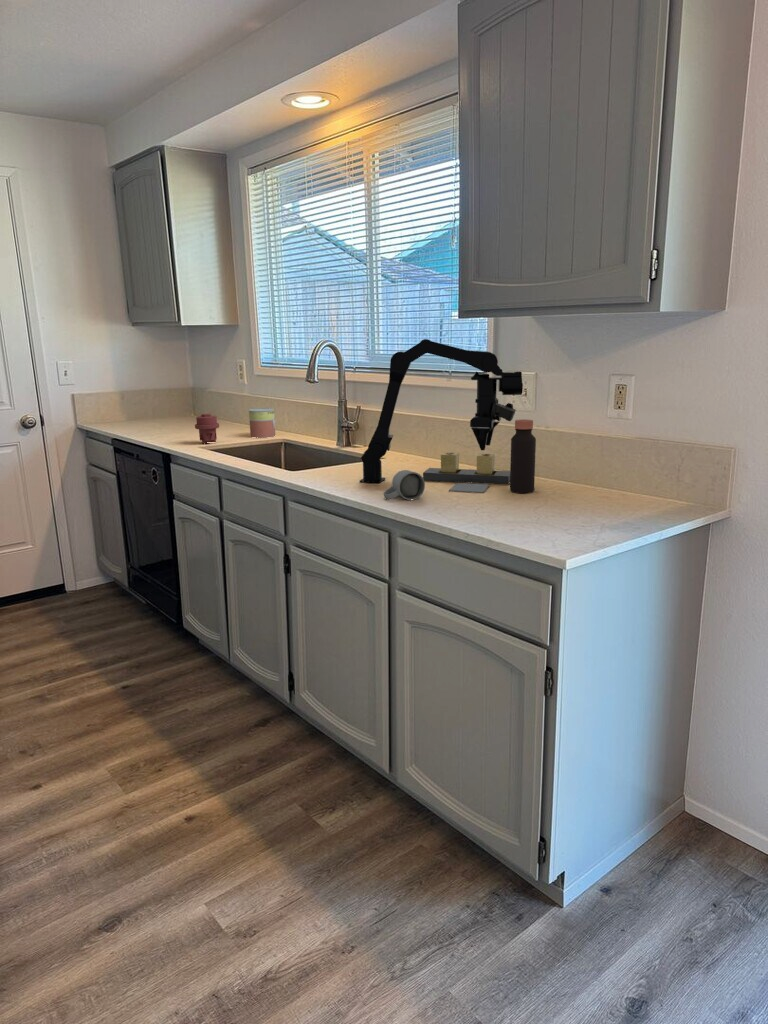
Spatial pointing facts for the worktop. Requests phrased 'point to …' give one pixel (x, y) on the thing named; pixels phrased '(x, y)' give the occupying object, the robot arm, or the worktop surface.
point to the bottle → (522, 457)
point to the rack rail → (466, 476)
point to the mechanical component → (207, 427)
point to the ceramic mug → (406, 485)
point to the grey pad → (469, 487)
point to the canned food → (262, 422)
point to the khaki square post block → (450, 462)
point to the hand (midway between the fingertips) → (485, 447)
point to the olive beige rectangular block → (485, 464)
